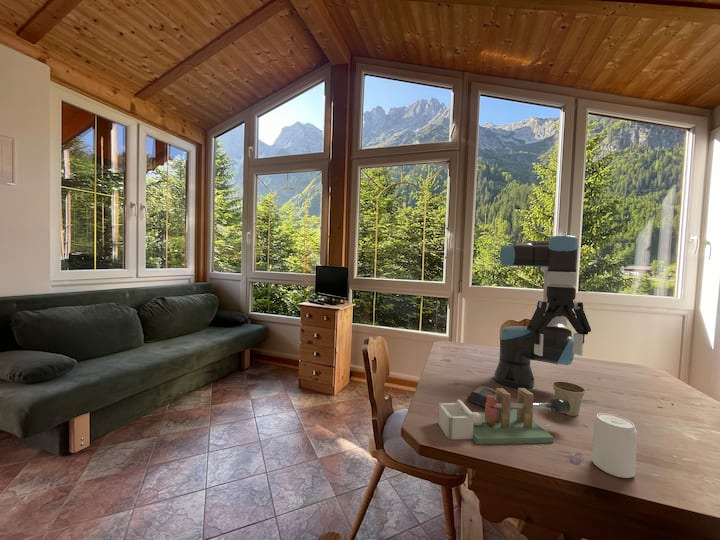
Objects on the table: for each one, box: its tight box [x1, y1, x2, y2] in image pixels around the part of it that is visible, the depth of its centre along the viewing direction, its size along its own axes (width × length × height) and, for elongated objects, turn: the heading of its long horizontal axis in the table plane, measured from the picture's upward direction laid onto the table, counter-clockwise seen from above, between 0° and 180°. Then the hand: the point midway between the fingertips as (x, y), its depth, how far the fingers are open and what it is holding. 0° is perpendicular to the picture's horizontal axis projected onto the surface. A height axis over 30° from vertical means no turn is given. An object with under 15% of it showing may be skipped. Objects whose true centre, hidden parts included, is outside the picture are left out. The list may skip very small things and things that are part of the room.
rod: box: [484, 395, 570, 426], centre depth 91 cm, size 25×4×8 cm, turn 95°
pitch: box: [461, 411, 554, 445], centre depth 91 cm, size 22×14×2 cm, turn 95°
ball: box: [472, 411, 483, 426], centre depth 90 cm, size 4×4×4 cm
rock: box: [467, 385, 512, 411], centre depth 107 cm, size 14×11×5 cm
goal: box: [437, 399, 474, 440], centre depth 89 cm, size 7×9×7 cm
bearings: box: [495, 387, 534, 429], centre depth 91 cm, size 9×4×10 cm, turn 95°
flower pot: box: [551, 380, 587, 417], centre depth 103 cm, size 9×9×9 cm
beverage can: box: [591, 412, 638, 479], centre depth 74 cm, size 8×8×12 cm
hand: (558, 354), depth 94 cm, fingers open, 13 cm apart
